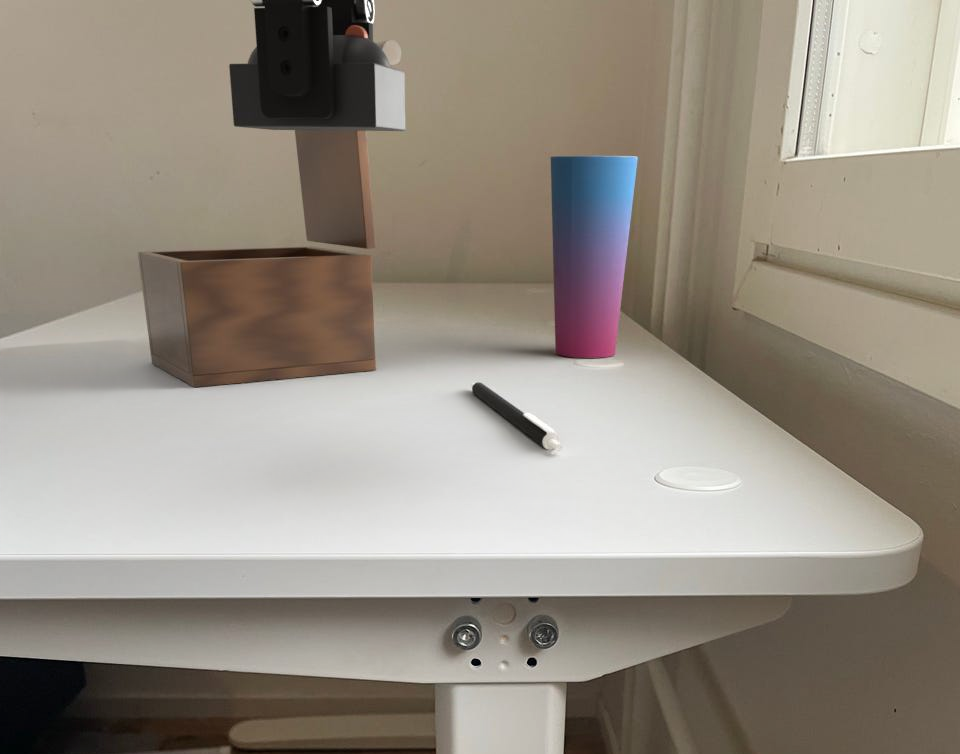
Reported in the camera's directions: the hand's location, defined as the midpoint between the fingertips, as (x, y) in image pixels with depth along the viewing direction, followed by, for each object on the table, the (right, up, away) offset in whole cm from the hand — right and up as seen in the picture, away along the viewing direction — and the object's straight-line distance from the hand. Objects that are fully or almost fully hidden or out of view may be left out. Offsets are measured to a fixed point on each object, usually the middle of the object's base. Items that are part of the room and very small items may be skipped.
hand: (320, 115), depth 45 cm
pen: (+9, -10, +18) cm, 22 cm away
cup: (+16, +1, +41) cm, 44 cm away
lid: (-5, +14, +30) cm, 34 cm away
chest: (-10, -2, +34) cm, 36 cm away
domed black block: (0, 0, 0) cm, 0 cm away
